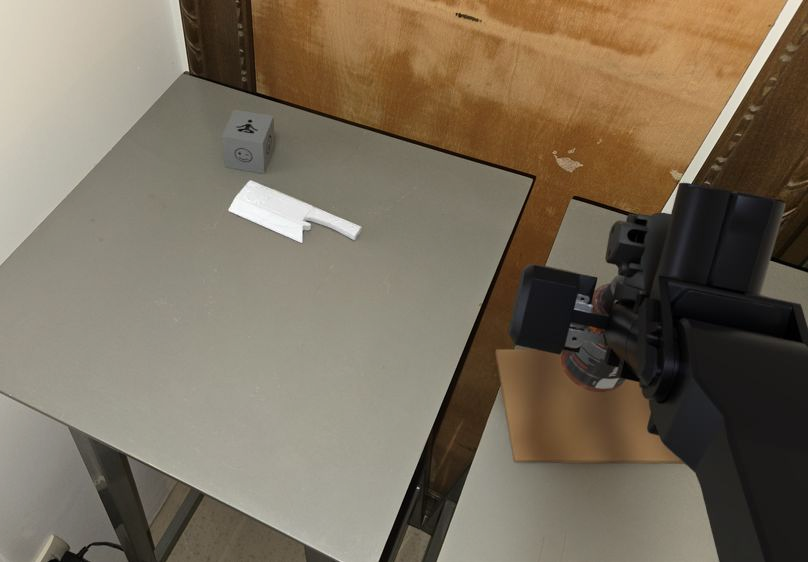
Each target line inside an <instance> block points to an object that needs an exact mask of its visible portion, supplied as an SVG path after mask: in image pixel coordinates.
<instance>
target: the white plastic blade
mask: <svg viewBox="0 0 808 562" xmlns="http://www.w3.org/2000/svg"><path fill="white" fill-rule="evenodd" d="M227 211H228V212H229V213H231V214H233V215H237V216H239V217H241V218H243V219H246V220H248V221H250V222H253V223H255V224H257V225H259V226H262V227H264V228H266V229H268V230H270V231H273V232H275V233H278V234H280V235H282V236H284V237H286V238H288V239H291V240H294V241H296V242H298V243H301V244H303V232H304V231H307V232H308V231H311V230H312V225H311V223H315V224H317V225H321V226H324V227H326V228H330V229H332V230H333V231H336V232H338V233H340V234H341V235H343V236H345V237H347V238H348V239H351V240H353V241H356V239H357V238H358V237H359V235H360V234H361V233H362V226H361V225H358V224H356V223H354V222H351V221H349V220H346V219H344V218H341V217H340V216H336V215H334V214H332V213H330V212H327V211H325V210H323V209H321V208H319V207H316V206H314V205H311V204H309V203H307V202H305V201H302V200H301V199H298V198H295V197H293V196H291V195H288V194H286V193H283V192H282V191H279V190H277V189H274V188H270V187H268V186H266V185H263V184H261V183H259V182H256V181H253V180H251V179H249V181H248V182H247V183H246V184H245V185H243V187H242V189H240V191H239V192H238V193H237V194H236V196H235V197H234V199H233V201H232V203H231V205H230V206H229V208H228V210H227ZM308 221H309V222H308Z"/></svg>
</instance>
